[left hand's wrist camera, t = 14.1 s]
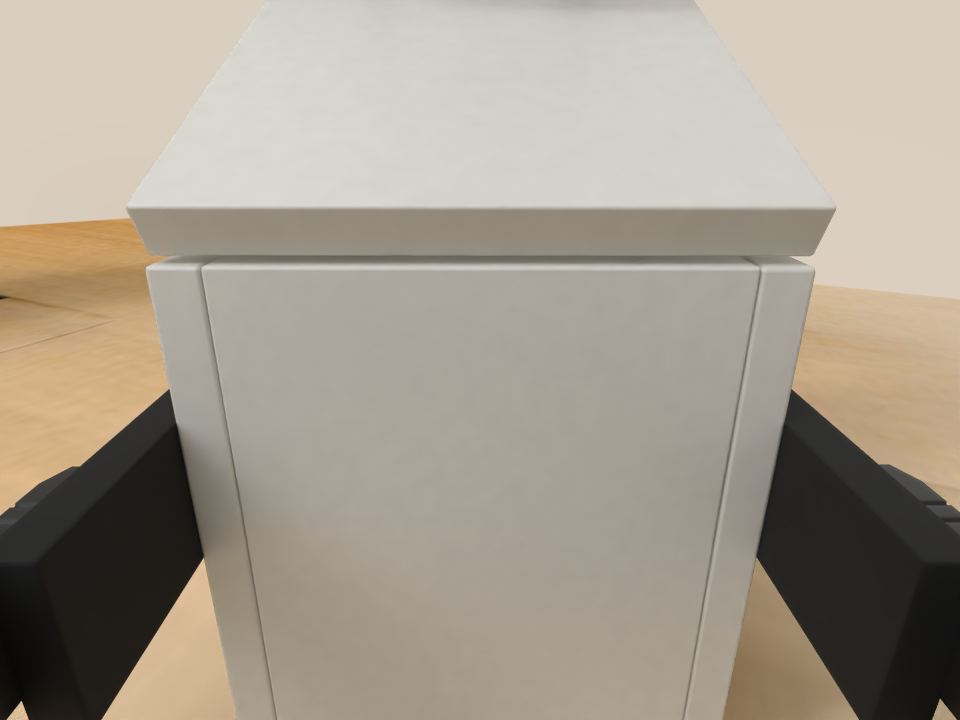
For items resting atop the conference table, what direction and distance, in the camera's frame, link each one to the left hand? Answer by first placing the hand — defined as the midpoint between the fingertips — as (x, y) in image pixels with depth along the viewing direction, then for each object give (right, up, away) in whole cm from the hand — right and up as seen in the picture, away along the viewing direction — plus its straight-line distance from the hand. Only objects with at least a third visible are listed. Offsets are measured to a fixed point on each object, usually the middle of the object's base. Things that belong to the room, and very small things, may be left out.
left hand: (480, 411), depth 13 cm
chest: (0, -5, +6) cm, 8 cm away
